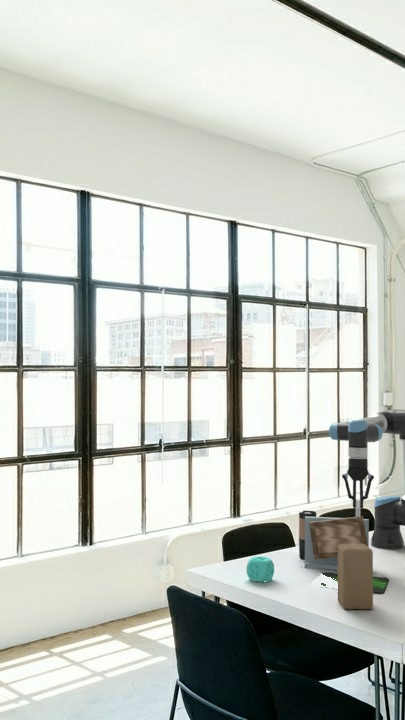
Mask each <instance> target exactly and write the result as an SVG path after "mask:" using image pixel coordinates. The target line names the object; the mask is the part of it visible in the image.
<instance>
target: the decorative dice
mask: <svg viewBox="0 0 405 720" xmlns="http://www.w3.org/2000/svg"><path fill="white" fill-rule="evenodd" d="M274 574H275V564H274V562H273V560H272V559H271V558H269V557H267V556H253V557H251V558H249V560H248V562H247V564H246V575H247V577H248V579H249V580H250V581H251V580H254V581H259V582H258V583H260V582H263V583H265V582H264V581H269V580H270V581H271V580H272V579H273V578H274ZM270 581H269V582H270Z"/></svg>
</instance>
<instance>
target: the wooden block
mask: <svg viewBox="0 0 405 720" xmlns="http://www.w3.org/2000/svg"><path fill="white" fill-rule="evenodd" d="M373 554H374V552H373V550H372V549H371V547H368V546H366V545H365V544H339V545H338V569H337V573H338V590H337V602H339V604H340V605H341V607H342V608H343V609H344V610H346V609H370V610H373V608H374V593H373V577H374V574H373V573H374V559H373V558H374V555H373Z"/></svg>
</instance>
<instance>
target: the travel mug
mask: <svg viewBox="0 0 405 720" xmlns="http://www.w3.org/2000/svg"><path fill="white" fill-rule="evenodd" d="M305 516H306V517H317V511H314V510H303V511H301V512H300V511H298V548H299V549H298V550H299V551H298V552H299V553H298V554H299V555H298V556H299V559H300V560H303V561H305Z"/></svg>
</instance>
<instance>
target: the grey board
mask: <svg viewBox="0 0 405 720" xmlns="http://www.w3.org/2000/svg"><path fill="white" fill-rule="evenodd" d="M341 518H342V517H328V516H325V517H324V516H316V517H306V516H305V560H304V565H303V566H304V568H309V569H325V570H326V569H329V570H338V557H337V558H327V559H316V560H314V553H313V547H312V540H311V533H310V527H309V522H313V521H322V520H332V519H341ZM363 519H364V525H365V532H366V538H367V544H368V547H369V546H370V544H369V543H370V542H369V541H370V539H369V538H370V536H369V535H370V531H369V530H370V529H369V528H370V527H369V525H370V524H369V523H370V522H369V521H370V520H369V518H363ZM369 548H370V547H369Z"/></svg>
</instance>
